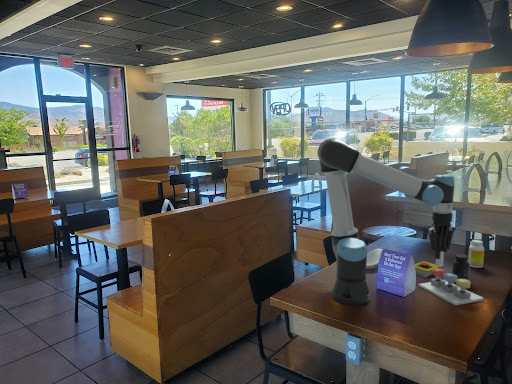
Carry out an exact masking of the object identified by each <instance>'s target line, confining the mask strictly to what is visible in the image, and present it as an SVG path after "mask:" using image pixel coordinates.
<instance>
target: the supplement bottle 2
mask: <svg viewBox="0 0 512 384" xmlns="http://www.w3.org/2000/svg"><path fill="white" fill-rule="evenodd" d="M467 256H468V261H467V262H469V263H470V268H475V269H481V268H483V267H484V259H485V247H484V246H483V241H482V240H480V239H479V240H478V239H472V240H471V244H470V245H469V247H468V255H467Z"/></svg>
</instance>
